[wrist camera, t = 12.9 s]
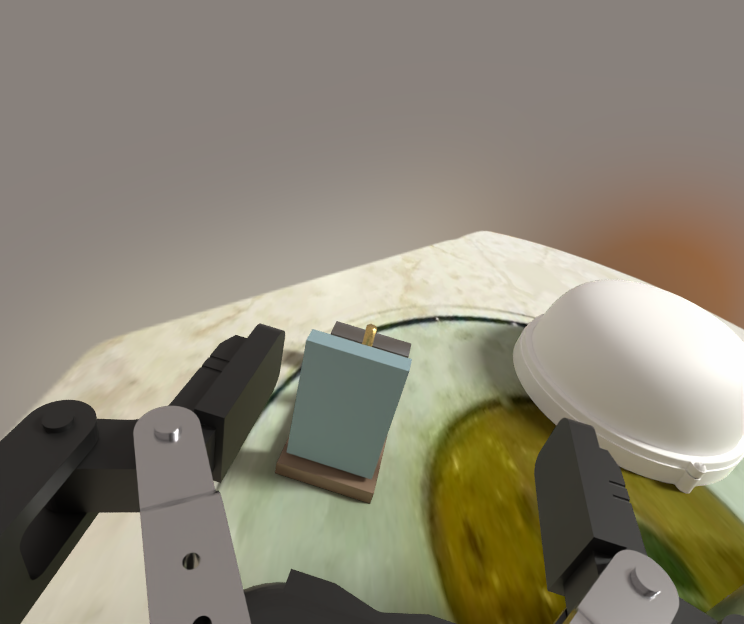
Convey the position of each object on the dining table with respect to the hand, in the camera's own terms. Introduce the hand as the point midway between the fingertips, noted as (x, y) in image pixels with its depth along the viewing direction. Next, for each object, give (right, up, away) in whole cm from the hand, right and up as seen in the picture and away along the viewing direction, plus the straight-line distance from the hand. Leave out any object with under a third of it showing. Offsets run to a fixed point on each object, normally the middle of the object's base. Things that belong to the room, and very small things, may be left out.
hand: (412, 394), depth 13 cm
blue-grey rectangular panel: (-5, -10, +31) cm, 33 cm away
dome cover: (+33, -9, +52) cm, 62 cm away
